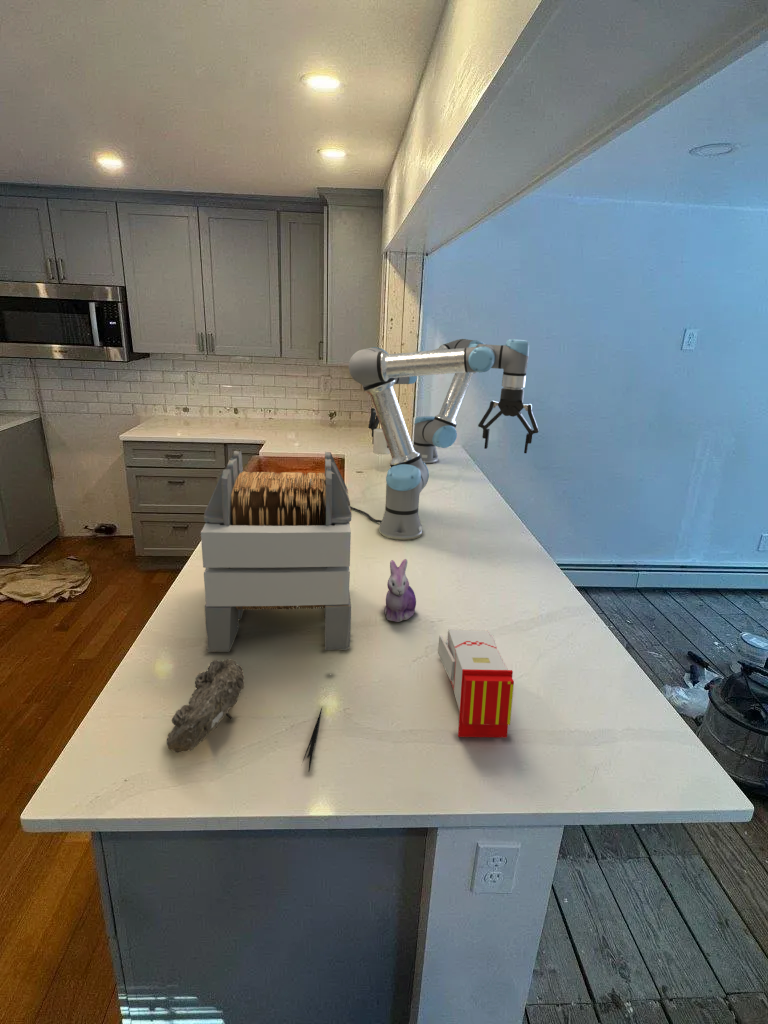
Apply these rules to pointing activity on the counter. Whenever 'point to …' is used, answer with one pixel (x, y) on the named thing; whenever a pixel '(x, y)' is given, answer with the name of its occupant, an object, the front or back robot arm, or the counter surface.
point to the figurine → (399, 594)
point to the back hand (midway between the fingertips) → (382, 445)
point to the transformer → (277, 549)
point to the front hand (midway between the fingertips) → (505, 450)
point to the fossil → (206, 705)
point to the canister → (380, 443)
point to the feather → (313, 740)
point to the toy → (478, 682)
